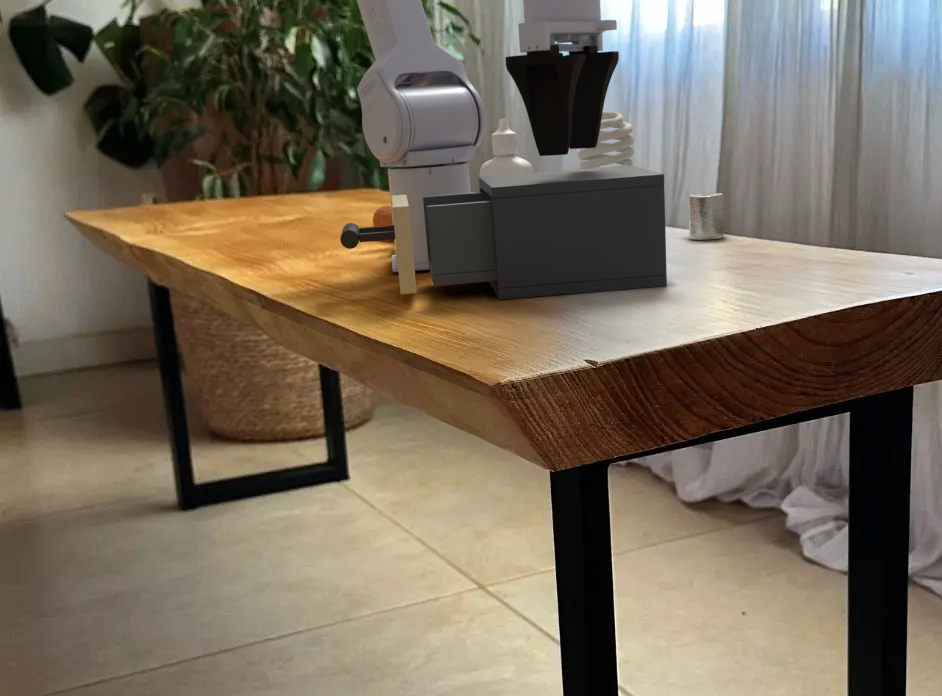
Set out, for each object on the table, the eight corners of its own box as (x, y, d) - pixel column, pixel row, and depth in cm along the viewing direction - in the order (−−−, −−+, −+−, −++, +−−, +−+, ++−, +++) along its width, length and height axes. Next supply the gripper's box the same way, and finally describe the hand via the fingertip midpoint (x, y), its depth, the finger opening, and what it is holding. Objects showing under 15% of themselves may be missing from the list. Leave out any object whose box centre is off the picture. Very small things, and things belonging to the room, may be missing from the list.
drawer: (344, 299, 90) (335, 211, 88) (348, 277, 101) (340, 199, 99) (555, 281, 91) (550, 194, 89) (536, 262, 102) (532, 184, 100)
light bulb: (648, 232, 124) (644, 108, 120) (611, 240, 120) (607, 111, 116) (606, 231, 128) (601, 110, 124) (569, 238, 124) (563, 114, 120)
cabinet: (499, 299, 91) (491, 187, 88) (485, 276, 103) (478, 176, 100) (667, 285, 91) (664, 174, 89) (634, 264, 103) (630, 165, 101)
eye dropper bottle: (519, 238, 127) (511, 117, 123) (542, 243, 122) (535, 116, 118) (480, 243, 125) (471, 120, 121) (501, 248, 120) (493, 120, 116)
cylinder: (686, 237, 118) (685, 194, 117) (718, 234, 119) (718, 192, 117) (694, 240, 115) (693, 197, 114) (727, 238, 116) (727, 194, 114)
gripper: (583, -53, 83) (592, 155, 87) (637, -39, 96) (642, 142, 100) (486, -42, 85) (499, 160, 90) (551, -30, 98) (559, 147, 102)
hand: (568, 151), depth 95 cm, fingers open, 7 cm apart
